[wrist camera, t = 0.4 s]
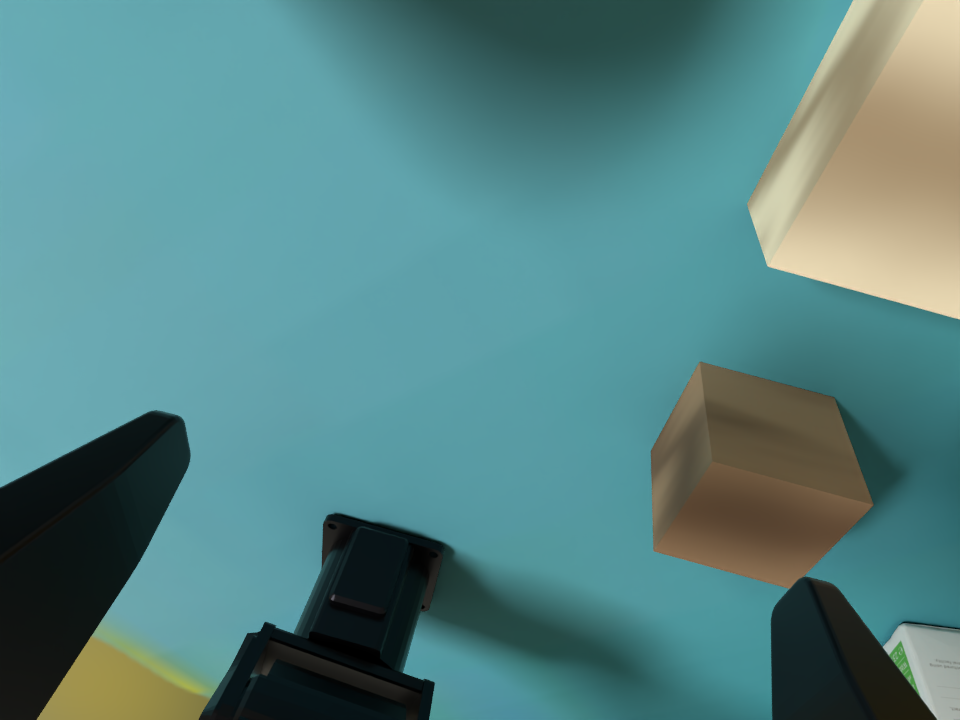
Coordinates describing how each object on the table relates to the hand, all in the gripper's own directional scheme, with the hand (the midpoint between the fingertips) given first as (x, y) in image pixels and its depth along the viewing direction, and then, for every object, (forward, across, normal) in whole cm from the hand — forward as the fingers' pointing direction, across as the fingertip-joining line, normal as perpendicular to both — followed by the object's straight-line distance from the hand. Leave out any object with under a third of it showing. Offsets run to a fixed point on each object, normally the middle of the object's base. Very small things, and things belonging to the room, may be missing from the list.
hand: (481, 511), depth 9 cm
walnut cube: (+14, -9, +8) cm, 18 cm away
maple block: (+14, -9, -4) cm, 17 cm away
